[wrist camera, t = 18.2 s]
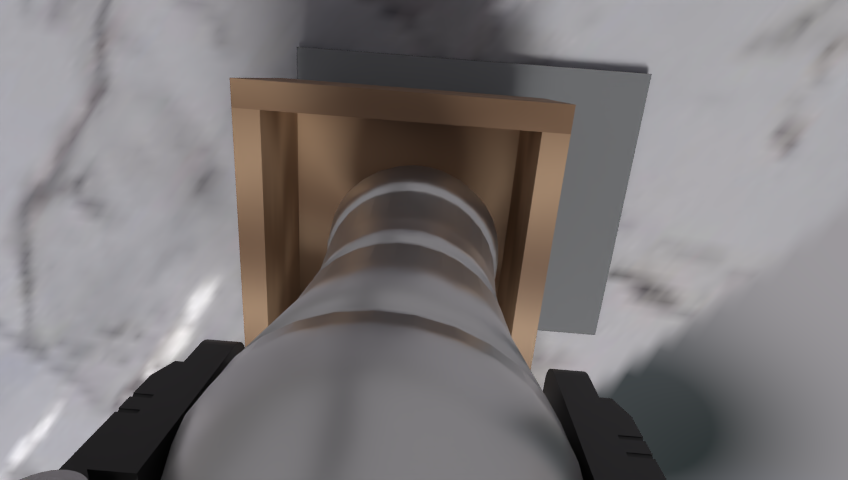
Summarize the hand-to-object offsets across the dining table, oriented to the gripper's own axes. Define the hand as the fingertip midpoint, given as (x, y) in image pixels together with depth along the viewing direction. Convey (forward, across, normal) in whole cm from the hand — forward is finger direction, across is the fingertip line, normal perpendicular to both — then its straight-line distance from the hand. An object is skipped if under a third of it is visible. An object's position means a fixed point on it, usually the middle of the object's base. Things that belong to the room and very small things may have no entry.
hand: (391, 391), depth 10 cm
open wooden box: (+18, +1, 0) cm, 18 cm away
